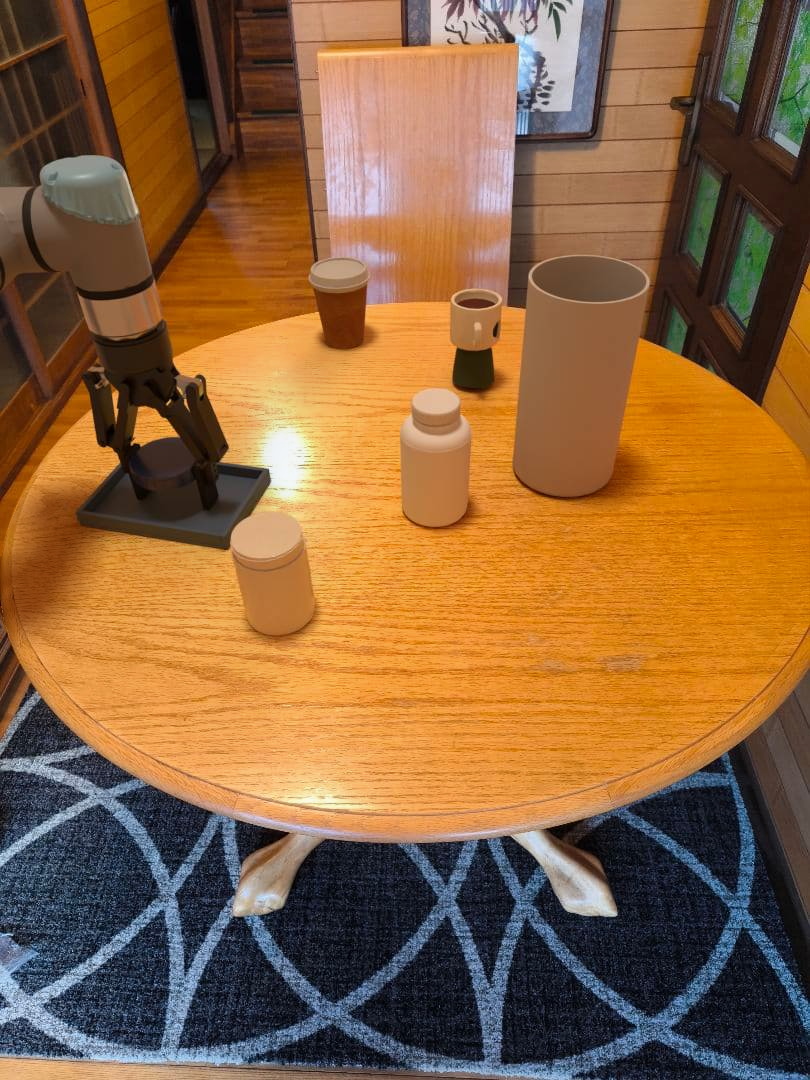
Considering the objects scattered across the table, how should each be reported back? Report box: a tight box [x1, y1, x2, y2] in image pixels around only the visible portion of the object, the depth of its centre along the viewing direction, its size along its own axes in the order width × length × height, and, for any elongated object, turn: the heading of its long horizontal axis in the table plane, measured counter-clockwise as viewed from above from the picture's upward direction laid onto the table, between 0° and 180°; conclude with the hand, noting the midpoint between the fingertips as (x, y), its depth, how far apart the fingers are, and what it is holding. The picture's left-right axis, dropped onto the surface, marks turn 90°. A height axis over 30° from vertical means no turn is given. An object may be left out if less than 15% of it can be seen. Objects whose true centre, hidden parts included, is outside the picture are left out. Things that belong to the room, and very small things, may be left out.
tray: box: [74, 461, 272, 550], centre depth 93 cm, size 19×13×2 cm
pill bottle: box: [399, 387, 472, 528], centre depth 87 cm, size 8×8×15 cm
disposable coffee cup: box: [307, 256, 371, 350], centre depth 121 cm, size 10×10×12 cm
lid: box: [129, 436, 196, 491], centre depth 90 cm, size 8×8×2 cm
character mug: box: [449, 288, 503, 389], centre depth 109 cm, size 11×7×13 cm, turn 0°
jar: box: [230, 511, 316, 636], centre depth 76 cm, size 7×7×11 cm
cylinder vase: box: [512, 254, 651, 498], centre depth 89 cm, size 12×12×25 cm
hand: (177, 497), depth 93 cm, fingers closed on lid, 8 cm apart
